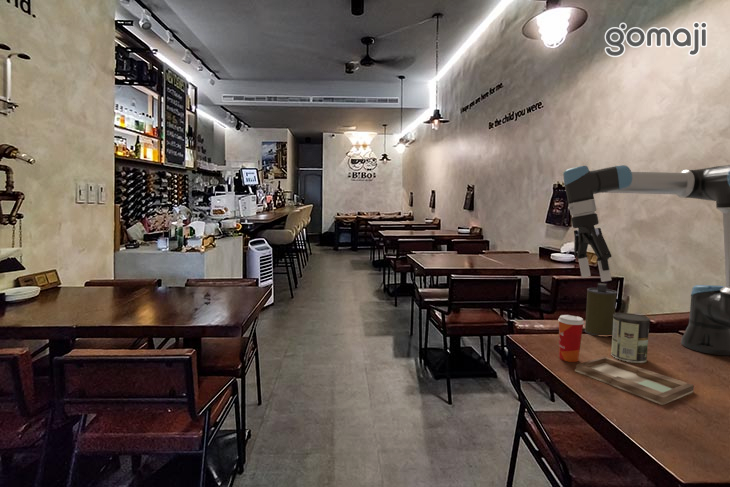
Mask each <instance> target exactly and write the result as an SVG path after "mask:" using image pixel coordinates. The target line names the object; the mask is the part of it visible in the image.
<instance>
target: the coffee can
mask: <svg viewBox="0 0 730 487" xmlns="http://www.w3.org/2000/svg"><path fill="white" fill-rule="evenodd" d="M613 317H614V318H613V334H612V338H611V352H610V355H612V356H613V358H614V357H615V358H614V359H615V360H618V359H619V360H618V361H621V360H622V361H621V362H625V361H626V362H625V363H630V364H631V363H632V364H644V363H647V361H648V347H649V346H648V345H649V333H650V332H649V331H650V323H651V318H650V317H648V316H645V315H641V314H638V313H637V314H636V313H629V312H628V313H627V312H615V314H613ZM612 356H611V357H612Z"/></svg>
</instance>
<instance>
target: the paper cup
mask: <svg viewBox="0 0 730 487" xmlns="http://www.w3.org/2000/svg"><path fill="white" fill-rule="evenodd" d="M557 321H558V352H559V353H558V354H559V356H558V357H559V359H560V360H561V361H564V362H567V363H568V362H569V363H578V361H579V359H580V358H579V357H580V350H581V342H582V336H583V327H584V324H585V322H584V318H582V317H580V316H576V315H570V314H561V315H560V316H559V317H558V319H557Z"/></svg>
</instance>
